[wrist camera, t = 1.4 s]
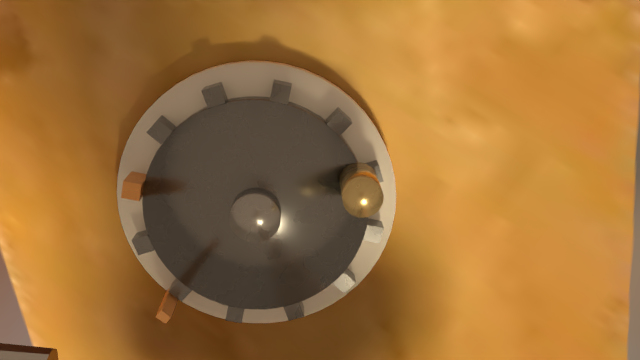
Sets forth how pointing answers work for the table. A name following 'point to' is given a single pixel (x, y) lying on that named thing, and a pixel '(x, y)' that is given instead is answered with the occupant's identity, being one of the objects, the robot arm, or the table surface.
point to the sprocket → (256, 202)
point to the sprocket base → (259, 82)
